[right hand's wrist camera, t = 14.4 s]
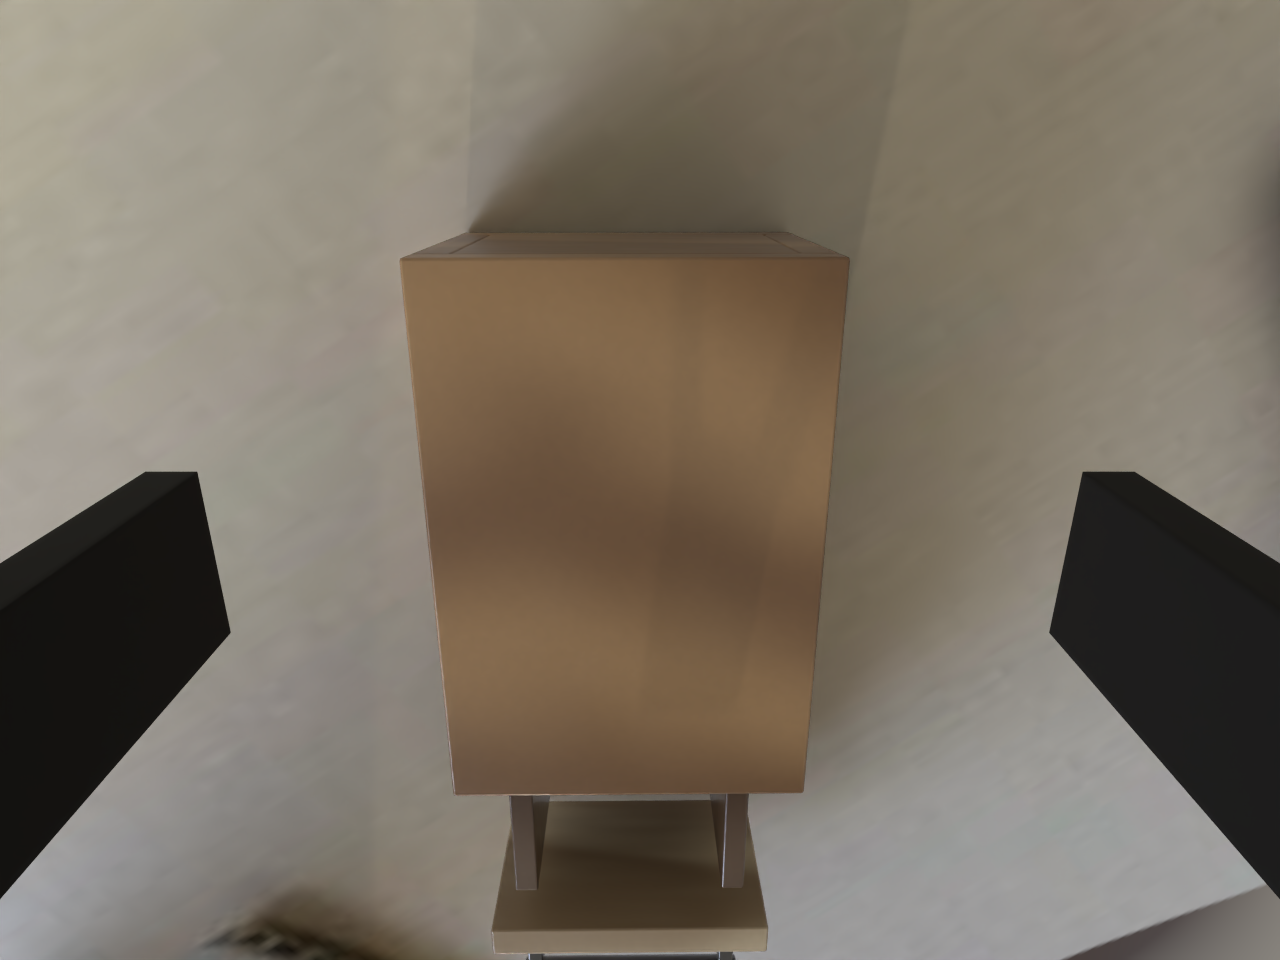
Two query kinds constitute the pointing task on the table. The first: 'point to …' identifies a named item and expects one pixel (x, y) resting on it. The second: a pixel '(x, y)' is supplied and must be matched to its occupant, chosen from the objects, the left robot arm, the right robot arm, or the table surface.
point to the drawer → (629, 880)
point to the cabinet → (626, 503)
